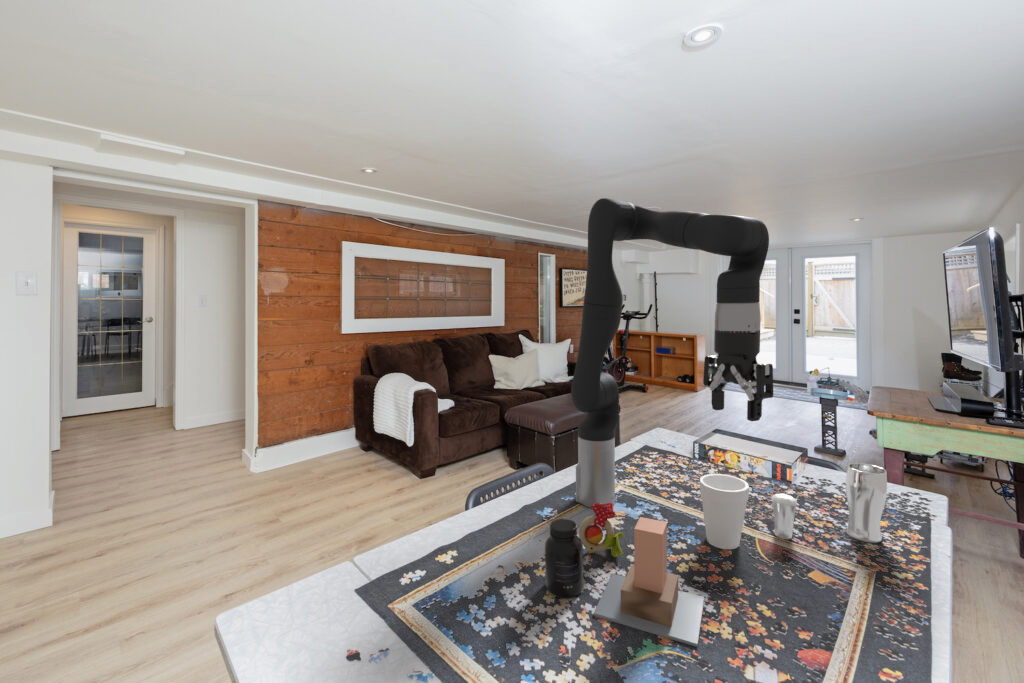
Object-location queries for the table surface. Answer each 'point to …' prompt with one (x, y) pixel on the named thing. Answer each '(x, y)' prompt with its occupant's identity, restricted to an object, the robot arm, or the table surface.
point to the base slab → (650, 600)
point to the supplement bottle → (564, 559)
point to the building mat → (682, 625)
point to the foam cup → (723, 508)
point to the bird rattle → (600, 530)
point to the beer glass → (865, 500)
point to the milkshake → (784, 514)
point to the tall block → (650, 554)
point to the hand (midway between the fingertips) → (735, 414)
